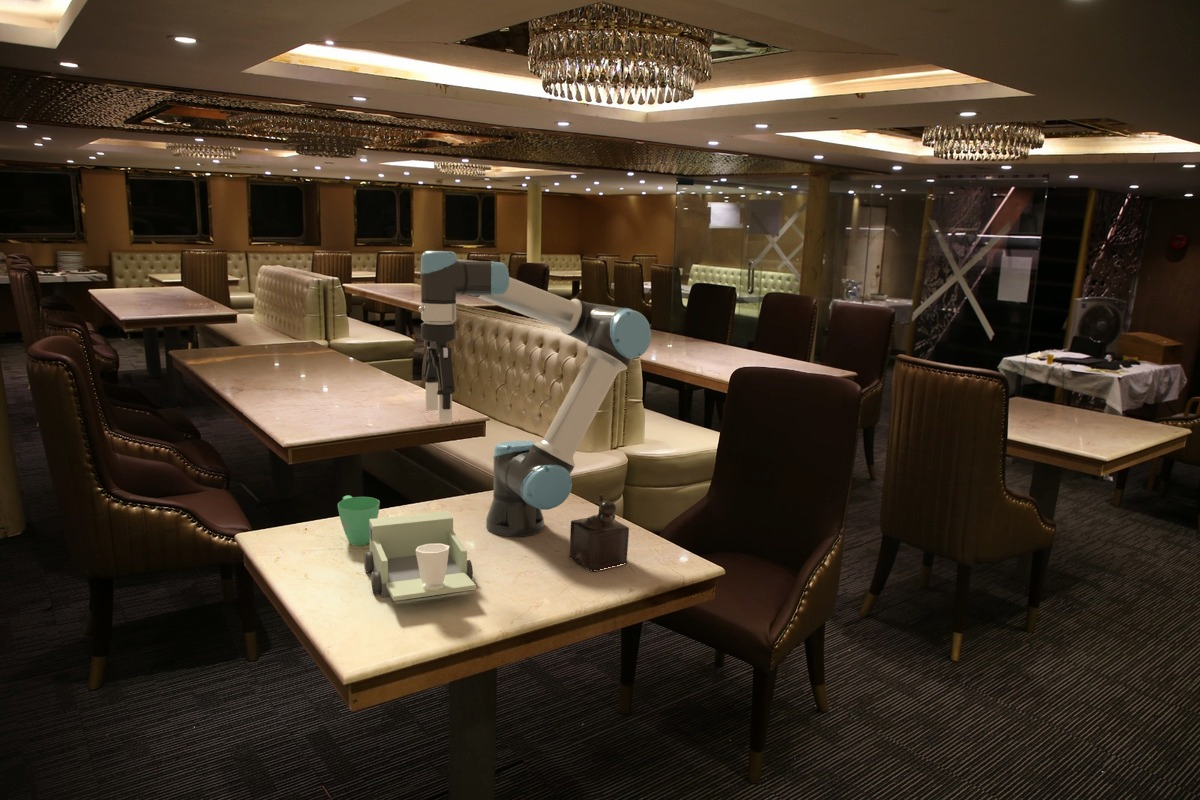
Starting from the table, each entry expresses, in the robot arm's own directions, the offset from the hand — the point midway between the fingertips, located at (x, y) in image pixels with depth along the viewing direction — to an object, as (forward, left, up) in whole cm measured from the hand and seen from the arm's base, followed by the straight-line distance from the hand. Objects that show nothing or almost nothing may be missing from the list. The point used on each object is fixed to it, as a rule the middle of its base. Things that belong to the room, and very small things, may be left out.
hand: (438, 416), depth 176 cm
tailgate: (+6, +16, -32) cm, 36 cm away
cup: (+6, +20, -31) cm, 37 cm away
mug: (+16, -20, -35) cm, 43 cm away
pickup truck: (+6, +6, -35) cm, 36 cm away
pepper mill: (-36, +14, -35) cm, 52 cm away
